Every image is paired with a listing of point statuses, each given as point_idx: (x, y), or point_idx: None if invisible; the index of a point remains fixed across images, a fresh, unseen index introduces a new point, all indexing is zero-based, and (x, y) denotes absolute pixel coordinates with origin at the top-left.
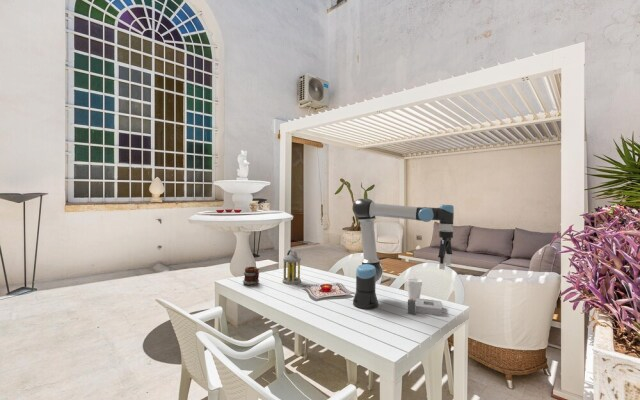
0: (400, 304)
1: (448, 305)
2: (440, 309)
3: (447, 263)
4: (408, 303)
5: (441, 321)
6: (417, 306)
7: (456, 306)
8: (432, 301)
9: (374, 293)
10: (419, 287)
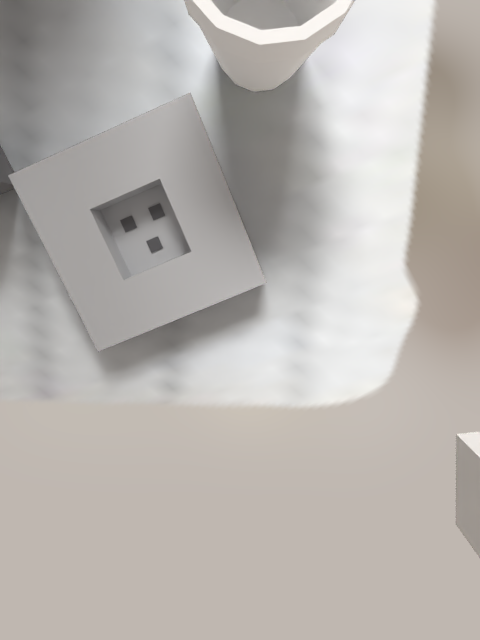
0: (79, 6)
1: (335, 302)
2: (95, 343)
3: (474, 497)
4: None
5: (16, 374)
6: (17, 191)
7: (353, 349)
8: (207, 234)
9: None
10: (244, 59)
